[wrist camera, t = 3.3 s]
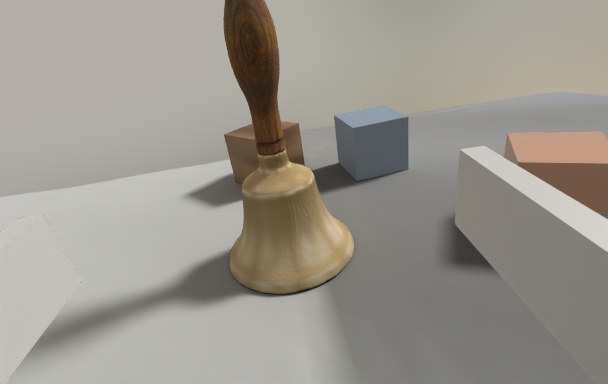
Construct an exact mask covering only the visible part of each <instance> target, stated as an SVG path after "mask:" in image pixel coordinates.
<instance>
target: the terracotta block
mask: <svg viewBox="0 0 608 384" xmlns="http://www.w3.org/2000/svg"><path fill="white" fill-rule="evenodd" d="M504 158H505V159H507V160H509V161H511V162H512V163H514V164H516V165H517V166H519V167H521V168H522V169H524V170H526V171H527V172H529V173H531V174H532V175H534V176H536V177H537V178H539V179H541V180H542V181H544V182H546V183H547V184H549V185H551V186H553V187H554V188H556V189H558V190H559V191H561V192H563V193H564V194H566V195H568V196H569V197H571V198H573V199H574V200H576V201H578V202H579V203H581V204H583V205H584V206H586V207H588V208H590V209H591V210H593V211H595V212H596V213H598V214H601V213H604V214H607V215H608V138H607V137H606V136H605V135H604V134H603V133H602V132H538V133H507V140H506V147H505V155H504Z"/></svg>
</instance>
